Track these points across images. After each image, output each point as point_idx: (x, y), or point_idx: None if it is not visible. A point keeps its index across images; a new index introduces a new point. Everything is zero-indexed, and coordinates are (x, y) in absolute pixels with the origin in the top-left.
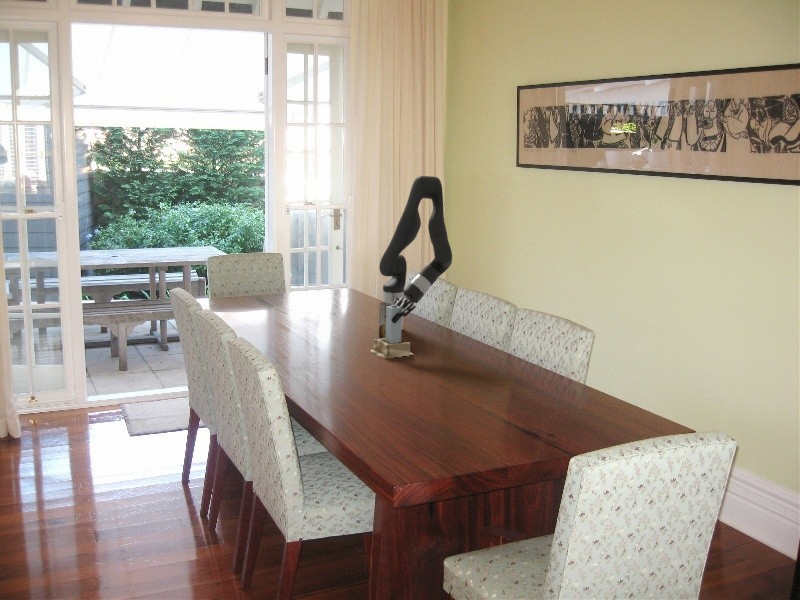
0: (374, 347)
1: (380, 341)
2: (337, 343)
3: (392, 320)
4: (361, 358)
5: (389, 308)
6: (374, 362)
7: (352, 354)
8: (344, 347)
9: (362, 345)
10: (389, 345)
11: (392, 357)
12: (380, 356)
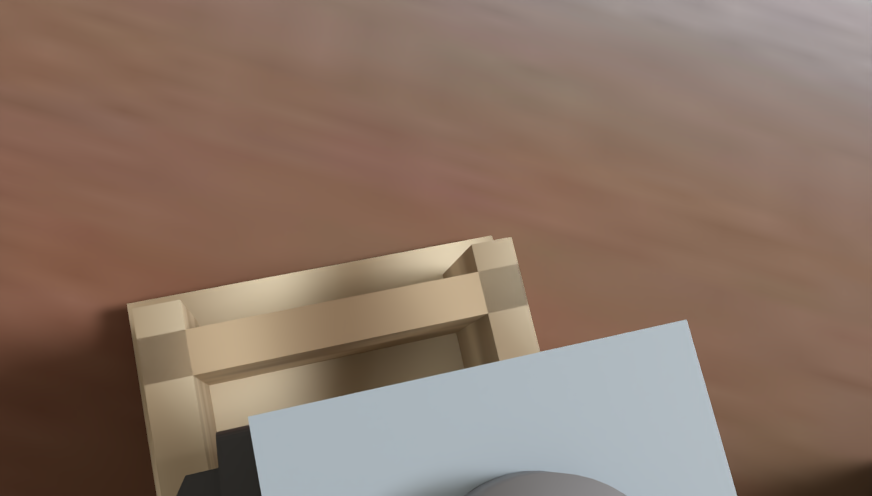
0: (453, 265)
1: (375, 299)
2: (845, 22)
3: (220, 449)
4: (222, 72)
5: (422, 379)
6: (8, 158)
7: (407, 33)
8: (692, 39)
9: (760, 237)
10: (145, 376)
11: (149, 426)
12: (221, 288)
